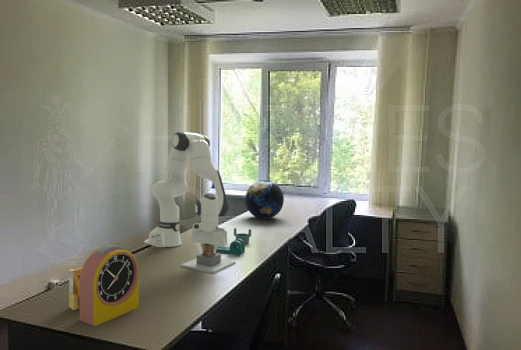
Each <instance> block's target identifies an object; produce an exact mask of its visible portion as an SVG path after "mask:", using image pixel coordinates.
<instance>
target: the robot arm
mask: <svg viewBox="0 0 521 350" xmlns="http://www.w3.org/2000/svg"><path fill="white" fill-rule="evenodd" d="M171 145H172V146H171V149H170V152H169V156H168V160H167V162H166V166H165V167H166V168H165V169H166V171H167V173H168V179H162V180H159V181H156V182H155V183H153V184H152V187H151V193H152V195H153V197H154V198H156V201H158V205H159V209H160V210H159V213H160V214H159V215H160V219H159V220H158V221H157V222H156V225H157V226H156V227H155V228H153V229H152V230H151V231H150V232H149V233H148V238H147V239H145V240H144V241H143V242H144V243H145V244H148V245H151V246H153V247H157V248H173V247H179V246H182V239H181V234H180V233H181V231H180V230H181V229H180V228H181V220H180V207H179V206H178V205H177V204H176V201H175V198H176V197H177V198H178V197H181V196H182V195H184V194H185V193H186V192H187V191H188V183H187V181H186V175H185V174H186V170H187V165H188V161H189V158H190V165H191V170H192V171H193V173H194V174H196V175H197V176H198V177H200V178H203V179H207V180H208V181H210V182H211V183H212V185H213V186H214V187H213V188H214V189H215V193H216V194H213V193H205V194H203V195H202V197H201V198H198V199H197V200H196V201H195V202H194V206H193V207H194V213H195V214H196V215H197V216H198V217H201V219H200V222H196V223H194V224H192V229H191V237H190V238H191V241H192V242H194V243H199V244H200V247H201V252H203V244H209V245H214V247H215V248H214V249H213V250H212V253H213V254H215V253H217V252H216V249H217V248H218V246H220V247H224V246H225V247H227V246H228V235H227V234H228V231H227V230H226V229H225V228H223V227H219V217H225V216H226V215H228V214H229V212H230V203H229V200H228V197H227V196H226V195H227V194H226V191H225V188H224V184H223V180H222V176H221V173H220V171H219V170H218V169H217V168H216V167H215V166H214V164H213V161H212V154H211V149H210V147H211V140H210V138H209V137H208V136H207V135H205V134H200V133H196V132H184V131H177V132H175V133H174V134H173V136H172V138H171Z"/></svg>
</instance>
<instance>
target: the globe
mask: <svg viewBox="0 0 521 350" xmlns="http://www.w3.org/2000/svg"><path fill="white" fill-rule="evenodd" d="M284 200H285V199H284V193H283V191H282V189H281V188H280V186H279V185H278V184H277V183H275V182H273V181H271V180H265V179H262V180H258V181H256V182H254V183H252V184H251V185H250V186H249V187H248V189H247V190H246V193H245V198H244V201H245V206H246V208H247V210H248V212H249V213H250V214H251V215H252V216H254V217H255V218H257V219H261V220H269V219H272V218H274V217H275V216H277V215H278V214H279V213H280V212H281V211H282V209H283V206H284V202H285V201H284Z"/></svg>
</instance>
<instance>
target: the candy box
mask: <svg viewBox="0 0 521 350" xmlns="http://www.w3.org/2000/svg"><path fill="white" fill-rule="evenodd" d="M82 267H83V266H80V267H75V268H70V269H68V298H69V299H68V303H69V304H68V307H69V309H71V310H73V311H76V310H80V290H79V280H80V273H81V270H82Z"/></svg>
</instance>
